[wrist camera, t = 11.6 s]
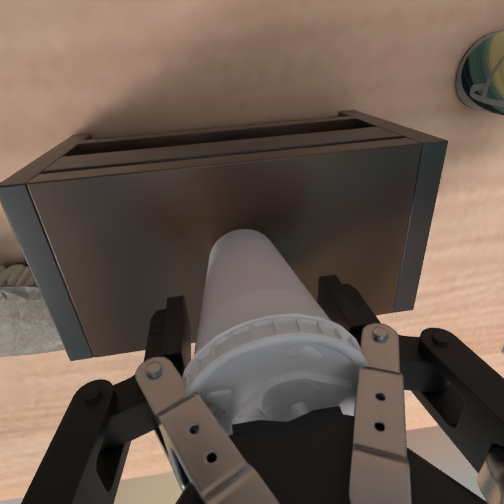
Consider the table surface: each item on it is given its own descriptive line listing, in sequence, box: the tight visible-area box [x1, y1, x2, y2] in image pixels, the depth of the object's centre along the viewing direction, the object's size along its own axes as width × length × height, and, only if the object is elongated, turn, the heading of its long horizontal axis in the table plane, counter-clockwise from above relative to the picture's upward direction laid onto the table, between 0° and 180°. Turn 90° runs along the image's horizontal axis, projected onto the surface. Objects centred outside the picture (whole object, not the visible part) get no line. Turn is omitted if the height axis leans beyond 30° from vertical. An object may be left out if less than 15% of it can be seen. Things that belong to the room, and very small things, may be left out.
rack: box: [0, 110, 448, 361], centre depth 25 cm, size 22×11×12 cm, turn 93°
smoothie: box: [182, 229, 370, 436], centre depth 14 cm, size 6×6×14 cm
